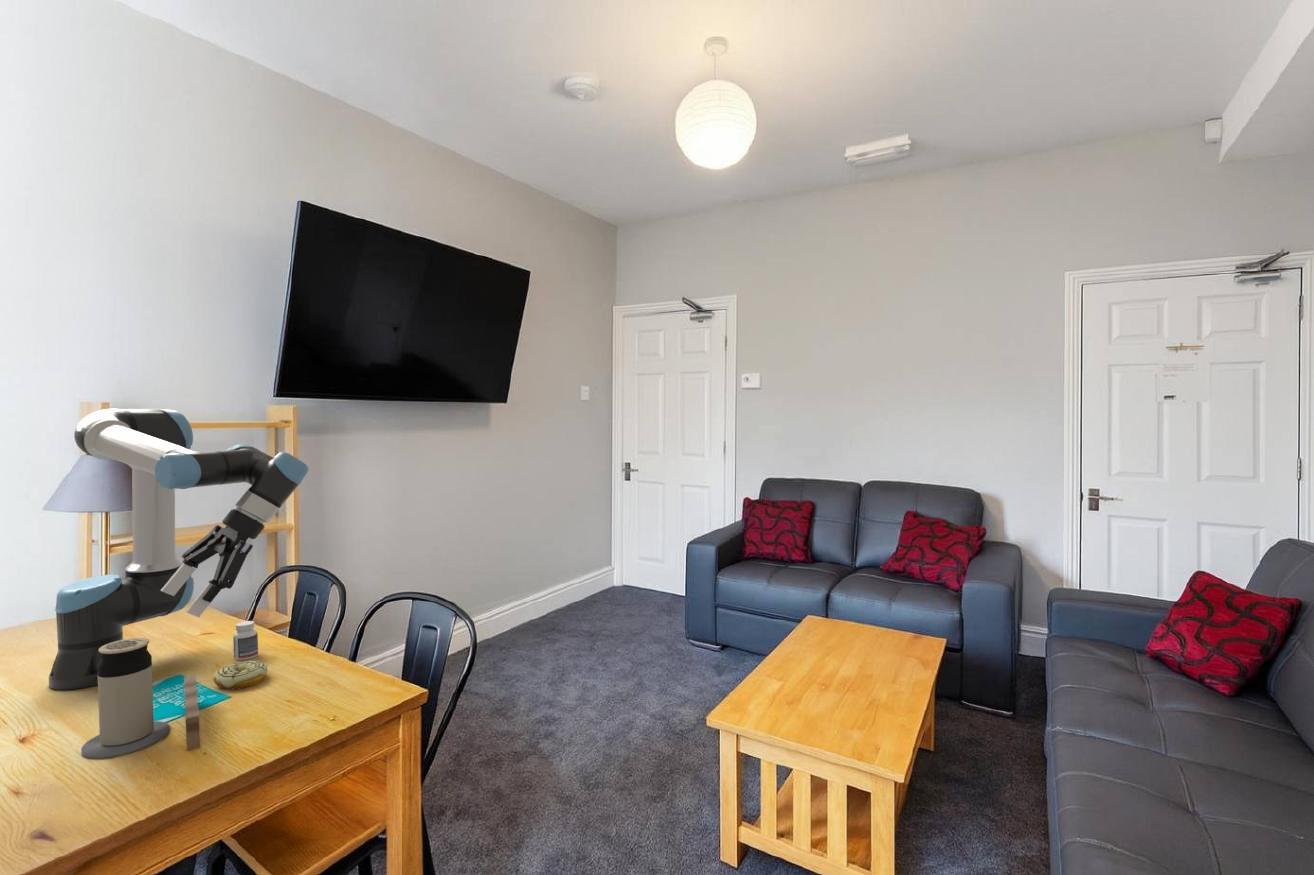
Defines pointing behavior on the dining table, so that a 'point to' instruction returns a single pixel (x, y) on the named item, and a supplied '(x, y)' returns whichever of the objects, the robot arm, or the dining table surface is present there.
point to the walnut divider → (191, 713)
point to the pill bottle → (245, 641)
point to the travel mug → (125, 692)
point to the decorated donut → (240, 675)
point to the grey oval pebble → (100, 751)
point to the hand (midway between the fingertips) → (179, 603)
